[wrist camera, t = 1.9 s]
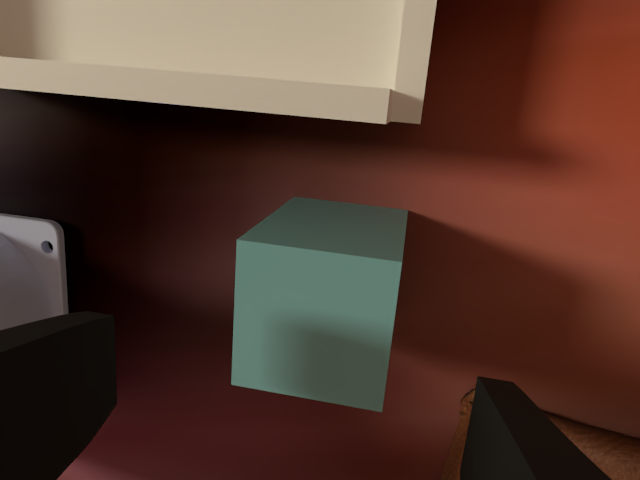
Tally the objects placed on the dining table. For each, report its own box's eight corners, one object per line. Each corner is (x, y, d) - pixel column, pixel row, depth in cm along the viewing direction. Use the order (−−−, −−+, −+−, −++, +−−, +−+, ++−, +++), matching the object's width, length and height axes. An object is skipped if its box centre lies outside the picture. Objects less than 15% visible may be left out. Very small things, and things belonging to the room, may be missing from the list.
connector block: (393, 317, 19) (381, 412, 13) (287, 300, 19) (231, 384, 13) (408, 210, 17) (401, 262, 12) (294, 196, 18) (236, 240, 12)
